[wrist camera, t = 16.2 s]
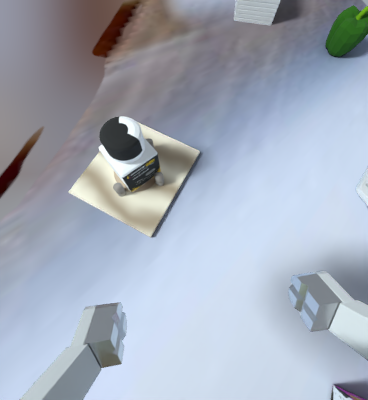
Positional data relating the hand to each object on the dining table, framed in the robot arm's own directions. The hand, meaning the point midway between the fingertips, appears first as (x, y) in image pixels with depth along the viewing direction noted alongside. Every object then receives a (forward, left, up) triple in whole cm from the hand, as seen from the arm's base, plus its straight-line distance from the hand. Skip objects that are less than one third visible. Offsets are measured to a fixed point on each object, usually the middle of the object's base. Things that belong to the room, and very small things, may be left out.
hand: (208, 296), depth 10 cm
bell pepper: (-69, +9, -27) cm, 74 cm away
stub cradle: (-13, -18, -27) cm, 35 cm away
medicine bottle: (-13, -18, -26) cm, 34 cm away
